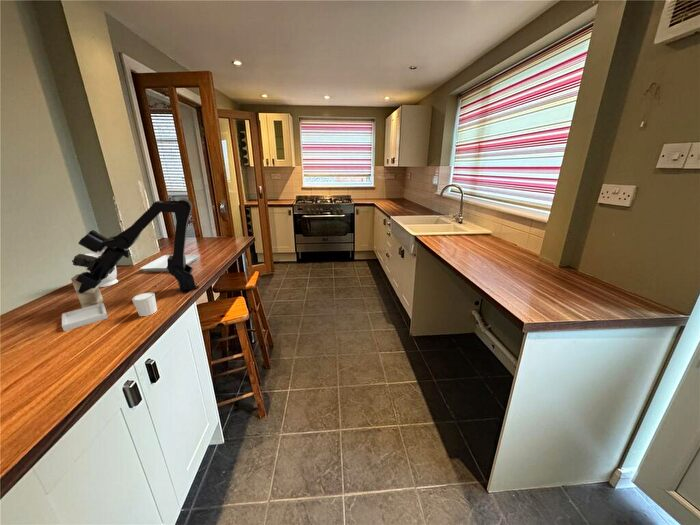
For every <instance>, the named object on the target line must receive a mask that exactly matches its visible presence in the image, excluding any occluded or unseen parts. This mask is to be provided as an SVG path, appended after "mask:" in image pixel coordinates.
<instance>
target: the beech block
mask: <svg viewBox="0 0 700 525" xmlns="http://www.w3.org/2000/svg"><path fill="white" fill-rule="evenodd" d="M80 274H81V273H77V274H75V275H74V276H73V277H71V278H70V279H71V283H72V285H73V287H74V290H75V293H76V295H77V297H78V301H79V303H80V305H81V308H85V307H89V306H93V305H96V304H100V303H103V301H104V298H103V295H102V292H101V290H100V287H98V286H97V287H96V288H91V289H89V290H87V291H85V292H83V293H79V292H78V291H79V289H80V286H81V284H82V283H80V282H78V281H76V280H75V279H76V278H77V277H78V276H79V275H80ZM93 274H94V273H93Z"/></svg>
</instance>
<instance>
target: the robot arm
mask: <svg viewBox="0 0 700 525" xmlns="http://www.w3.org/2000/svg"><path fill="white" fill-rule="evenodd" d="M193 207H194V206H193V202H191V200H190V199H187V198H180V199H179V200H157V201H154V202H153V203H152V204H151V206H150V207H149V208H148V209H146V211H145V212H144V213H143V214H142V215H140V217H139V218H138V219H137V220H135V222H134V223H132V224H131V226H128V227H127V228H126V229H124V230H123V231H122V232H119V234H117V235H114V236H110V237H108V238H107V236H103V235H102V234H100V233H99V232H98V231H96V230H94V229H92V230H90V231H89V232H88V233H87V234H86V235H84V236H83V237H82V238H80V240H79V241H78V244H77V245H80V246H81V247H84V248H86V249H88V250H89V251H91V252H98V251H99V252H101V251H103V250H105V251H104V252H103V253H102V254H101V256H99V257H98V258H96V257H93V256H89V255H84V254H85V253H78V254H77V255H75V256H74V257H73V260H71V262H72V265H73V266H76V267H77V266H78V267H84V268H85V267H88V268H87V270H89V271H90V273H89V272H87V271H83V272H81V273H79V274H80V275H79V276H78V277H77V278H76V279H75V280H76V281H78V282H80V283H82V284H81V286H80V289H79V291H78V292H79V293H83V292H85V291H87V290H89V289H91V288H96V287H97V286H98V285H99V284H100V282H101V280H103V279H105V278H106V277H107V276H108V274H111V273H112V272H113V270H114V269H115V267H114V266H115V265H116V266H117V264H118V262H119V261H120V260H122V258H123V257H124V258H127V259H128V258H130V257H131V255H132V253H131V251H130V250H131V249H129V248H130V247H132V246H133V245H134V244H135V243H136V242H137V240H138V239H139V237H140V235H141V234H142V232H143V231H144V230H145V229H146V228H147V227H148V226H149V225H150V224H151V222H153V221H154V220H155V219H156V218H157V217H158V216H159V215H160V213H174V217H175V220H176V225H175V233H174V234H175V235H174V243H173V254H169V255H170V256H169V258H168V259H167V262H168V266H167V268H166V269H168V271H167V272H168V274H170V275H171V276H173V277H174V278H175V279H176V281H177V283H178V287H179V288H177V289H176V292H179V293H183V294H188V293H190V292H192V291H194V290H196V289H198V288H200V287H199V285H196V283H195V278H194V275H193V267H192V266H190V265H187V264H186V259H185V255H186V254H185V249H186V240H187V230H188V223H189V219H190V216H191V213H192V210H193ZM172 255H173V256H172ZM93 273H94V274H93Z"/></svg>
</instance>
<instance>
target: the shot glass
mask: <svg viewBox="0 0 700 525" xmlns="http://www.w3.org/2000/svg"><path fill="white" fill-rule="evenodd" d="M131 300H132V303H133V305H134V307H135V309H136V311H137V313H138V316H139V317H140V316H141V318H143V317H142V316H147V317H149V316H148V315H151V314H153V313H155V312H156V311H157V312H158V307H157V301H156V294H155V292H144V293H143V292H142V293H139V294H137V295H135V296H133V297H132V298H131ZM157 312H156V313H157ZM156 313H155V314H156ZM153 315H154V314H153ZM151 316H152V315H151Z"/></svg>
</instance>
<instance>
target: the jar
mask: <svg viewBox="0 0 700 525" xmlns="http://www.w3.org/2000/svg"><path fill="white" fill-rule="evenodd" d="M105 250H106V249H103V250H102V251H101V252H99V251H98V252H93V251H91V252H88V253H83V254H84V255H89V256H93V257H96V258H98V257H99V256H101V254H102V253H103V252H104V251H105ZM114 267H115V269H114V270H113V272H112V273H111V274H108V276H107V277H106V278H105V279H103V280H101V282H100V284H99V285H98V287H99V288H105V287H110V286H113V285H116V284H117V283H118V282H119V280H118V279H117V277H118V270H117V264H116V265H115V266H114ZM84 268H85V272H89V273H90V271H89V270H87V268H88V267H84Z"/></svg>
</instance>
